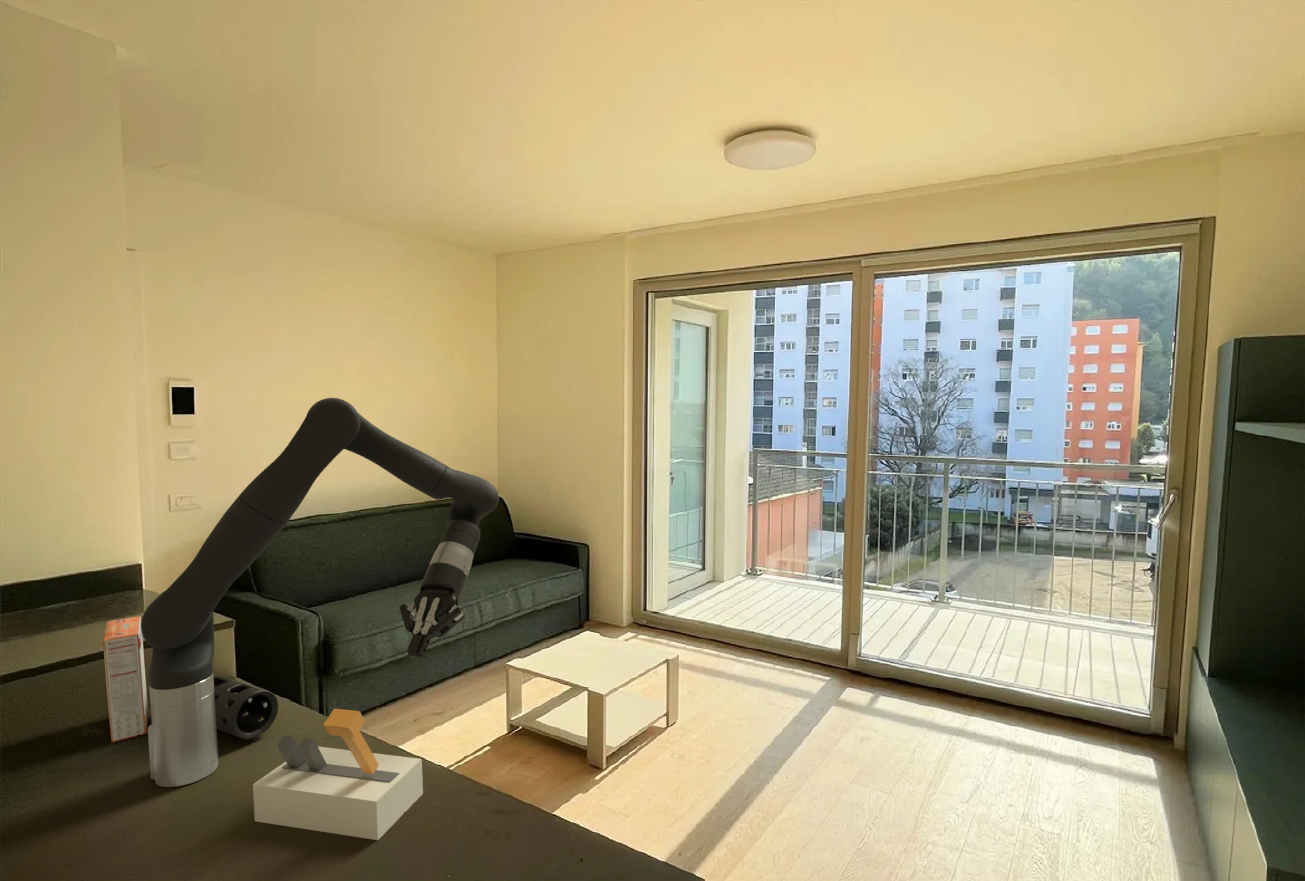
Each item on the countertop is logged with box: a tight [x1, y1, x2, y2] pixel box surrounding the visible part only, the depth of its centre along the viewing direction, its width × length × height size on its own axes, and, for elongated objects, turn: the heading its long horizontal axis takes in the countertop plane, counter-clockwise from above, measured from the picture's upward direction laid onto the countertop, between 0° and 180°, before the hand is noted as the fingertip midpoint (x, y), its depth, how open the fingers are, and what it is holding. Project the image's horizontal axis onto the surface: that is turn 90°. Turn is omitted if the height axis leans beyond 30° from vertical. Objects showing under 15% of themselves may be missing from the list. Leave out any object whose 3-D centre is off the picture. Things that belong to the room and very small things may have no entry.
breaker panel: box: [252, 735, 424, 841], centre depth 107 cm, size 22×12×12 cm, turn 77°
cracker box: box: [102, 615, 148, 744], centre depth 136 cm, size 14×6×21 cm, turn 36°
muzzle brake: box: [213, 673, 279, 742], centre depth 135 cm, size 10×28×10 cm, turn 62°
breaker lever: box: [323, 708, 379, 774], centre depth 102 cm, size 4×3×13 cm, turn 77°
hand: (414, 657), depth 117 cm, fingers closed
